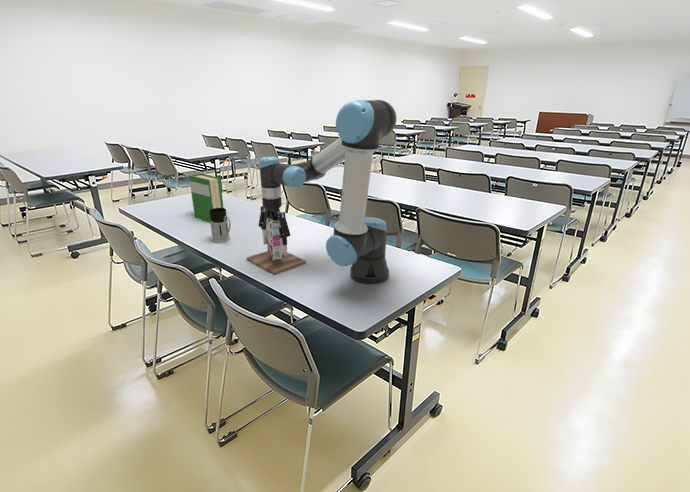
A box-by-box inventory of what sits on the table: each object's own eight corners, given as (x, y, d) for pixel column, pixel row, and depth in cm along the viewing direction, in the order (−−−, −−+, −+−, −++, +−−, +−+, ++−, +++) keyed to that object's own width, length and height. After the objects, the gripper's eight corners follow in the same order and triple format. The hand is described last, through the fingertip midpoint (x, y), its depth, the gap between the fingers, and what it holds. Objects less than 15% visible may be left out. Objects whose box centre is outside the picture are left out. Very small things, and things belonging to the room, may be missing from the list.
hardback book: (225, 220, 215) (220, 177, 206) (213, 223, 209) (207, 179, 200) (206, 214, 225) (200, 173, 216) (194, 217, 219) (188, 175, 211)
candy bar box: (284, 259, 158) (282, 221, 152) (272, 261, 157) (269, 222, 151) (278, 249, 168) (276, 213, 162) (267, 251, 166) (264, 214, 160)
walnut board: (305, 263, 162) (305, 260, 162) (273, 275, 152) (273, 272, 151) (277, 250, 175) (277, 247, 175) (246, 260, 165) (246, 257, 164)
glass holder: (224, 235, 193) (221, 206, 187) (240, 242, 184) (237, 212, 178) (208, 239, 187) (204, 210, 181) (223, 247, 178) (220, 216, 172)
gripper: (247, 193, 159) (251, 242, 167) (281, 204, 143) (284, 258, 151) (262, 190, 163) (266, 238, 172) (298, 201, 147) (300, 253, 156)
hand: (275, 247), depth 161 cm, fingers closed on candy bar box, 12 cm apart
